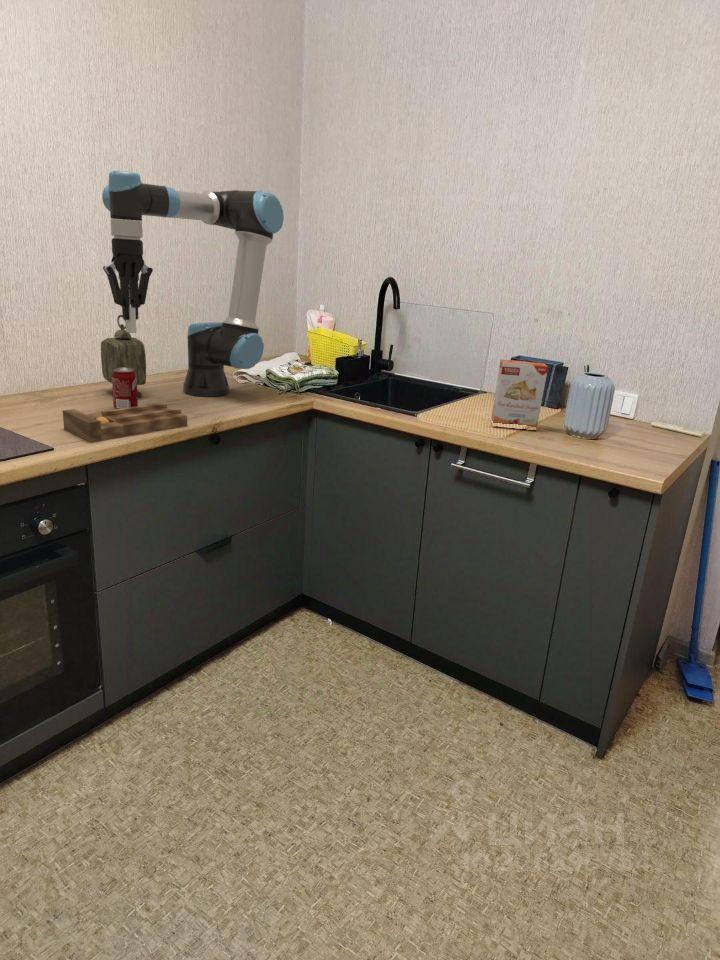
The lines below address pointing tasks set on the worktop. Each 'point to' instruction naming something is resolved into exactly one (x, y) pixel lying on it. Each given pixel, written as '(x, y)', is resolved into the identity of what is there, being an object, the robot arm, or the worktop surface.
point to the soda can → (124, 388)
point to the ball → (103, 420)
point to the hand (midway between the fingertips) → (131, 332)
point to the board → (123, 421)
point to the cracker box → (519, 392)
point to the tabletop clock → (123, 355)
